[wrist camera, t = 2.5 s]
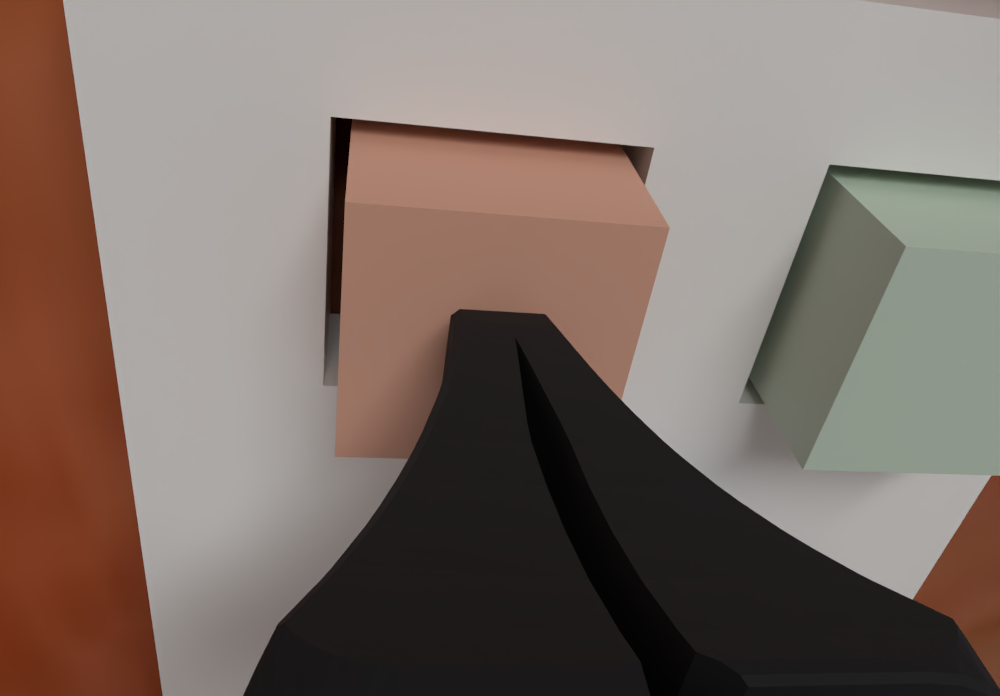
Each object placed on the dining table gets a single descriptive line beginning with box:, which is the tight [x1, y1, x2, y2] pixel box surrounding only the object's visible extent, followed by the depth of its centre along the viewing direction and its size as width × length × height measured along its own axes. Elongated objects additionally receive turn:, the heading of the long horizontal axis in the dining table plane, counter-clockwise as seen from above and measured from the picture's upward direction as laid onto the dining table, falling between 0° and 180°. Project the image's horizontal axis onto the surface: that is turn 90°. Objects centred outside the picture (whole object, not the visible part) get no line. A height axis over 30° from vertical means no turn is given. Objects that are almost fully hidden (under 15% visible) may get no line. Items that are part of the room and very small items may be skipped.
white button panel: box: [63, 0, 1000, 696], centre depth 18 cm, size 18×18×2 cm
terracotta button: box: [335, 119, 670, 459], centre depth 14 cm, size 4×4×3 cm
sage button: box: [749, 165, 1000, 476], centre depth 15 cm, size 4×4×3 cm
